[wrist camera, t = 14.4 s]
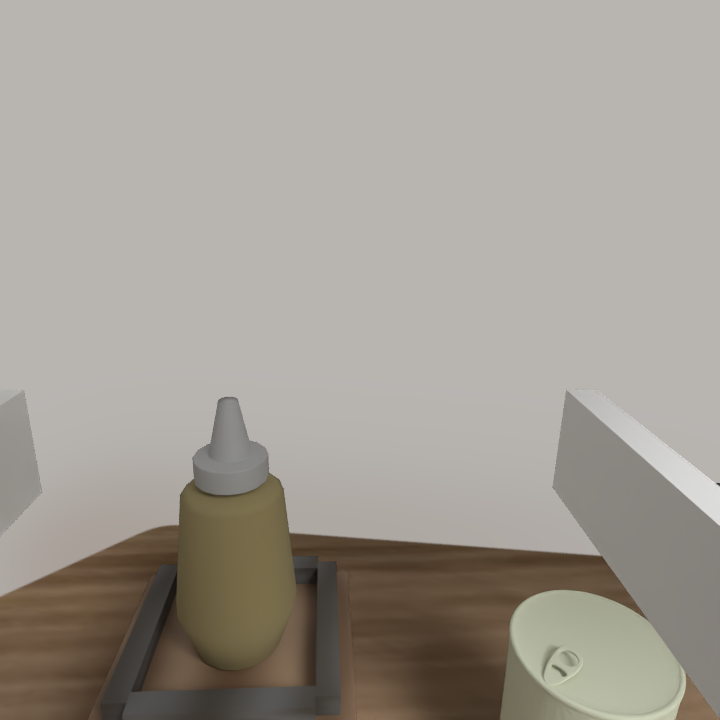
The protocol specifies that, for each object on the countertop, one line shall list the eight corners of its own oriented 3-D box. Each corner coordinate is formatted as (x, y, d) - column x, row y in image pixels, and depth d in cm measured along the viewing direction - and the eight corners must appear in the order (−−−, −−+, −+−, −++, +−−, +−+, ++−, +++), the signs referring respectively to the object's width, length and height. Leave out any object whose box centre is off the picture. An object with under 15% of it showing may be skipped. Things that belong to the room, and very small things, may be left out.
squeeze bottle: (320, 630, 40) (321, 397, 35) (234, 711, 34) (219, 441, 28) (243, 583, 45) (234, 370, 39) (155, 646, 38) (129, 403, 33)
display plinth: (346, 619, 48) (348, 555, 46) (355, 786, 35) (358, 706, 33) (156, 624, 47) (150, 558, 45) (90, 798, 33) (77, 716, 32)
